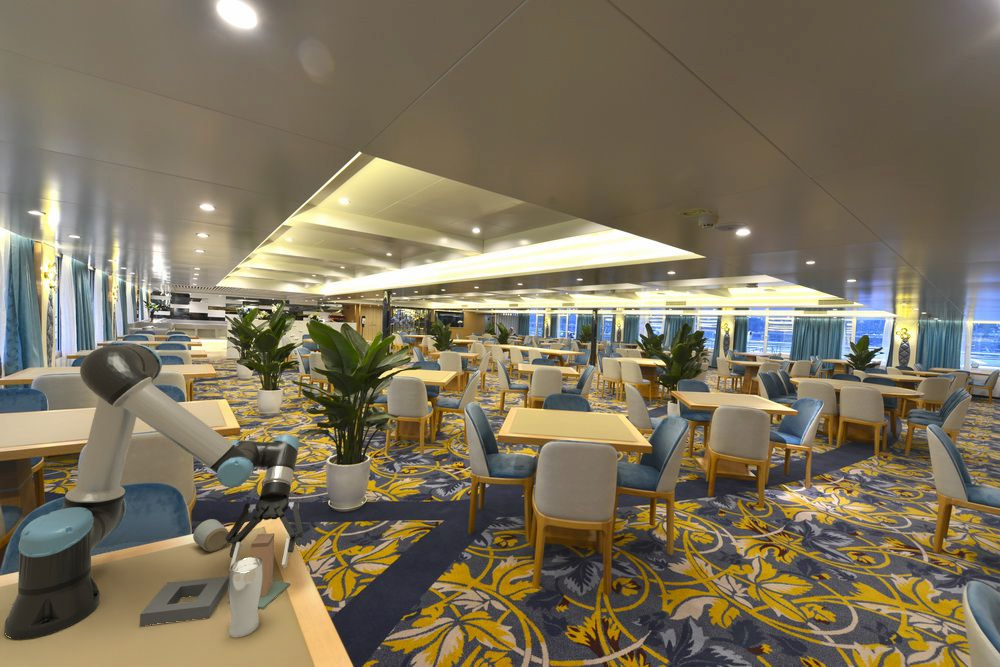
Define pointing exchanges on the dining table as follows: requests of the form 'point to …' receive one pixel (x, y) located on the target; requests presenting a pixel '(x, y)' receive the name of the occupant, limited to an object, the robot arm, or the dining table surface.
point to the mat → (272, 593)
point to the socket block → (171, 611)
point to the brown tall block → (264, 558)
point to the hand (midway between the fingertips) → (258, 568)
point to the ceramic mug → (210, 535)
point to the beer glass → (244, 595)
